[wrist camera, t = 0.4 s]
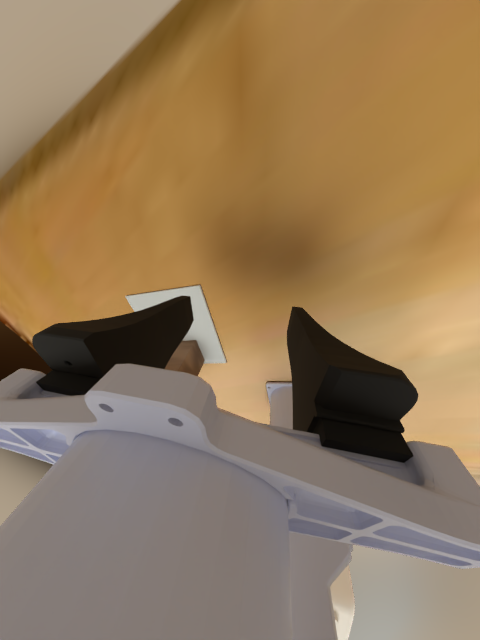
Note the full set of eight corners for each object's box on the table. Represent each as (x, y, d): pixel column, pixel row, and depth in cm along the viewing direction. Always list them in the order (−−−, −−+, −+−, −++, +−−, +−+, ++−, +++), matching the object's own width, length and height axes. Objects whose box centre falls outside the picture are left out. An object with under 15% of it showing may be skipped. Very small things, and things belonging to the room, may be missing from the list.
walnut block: (204, 360, 30) (184, 403, 23) (181, 360, 31) (156, 402, 25) (196, 340, 28) (171, 381, 21) (171, 341, 29) (140, 381, 22)
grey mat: (226, 361, 30) (226, 362, 29) (166, 363, 33) (165, 364, 32) (200, 284, 23) (199, 285, 22) (126, 295, 26) (125, 296, 25)
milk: (285, 489, 60) (290, 648, 38) (297, 480, 53) (312, 664, 32) (319, 499, 59) (344, 665, 38) (336, 491, 53) (377, 686, 31)
